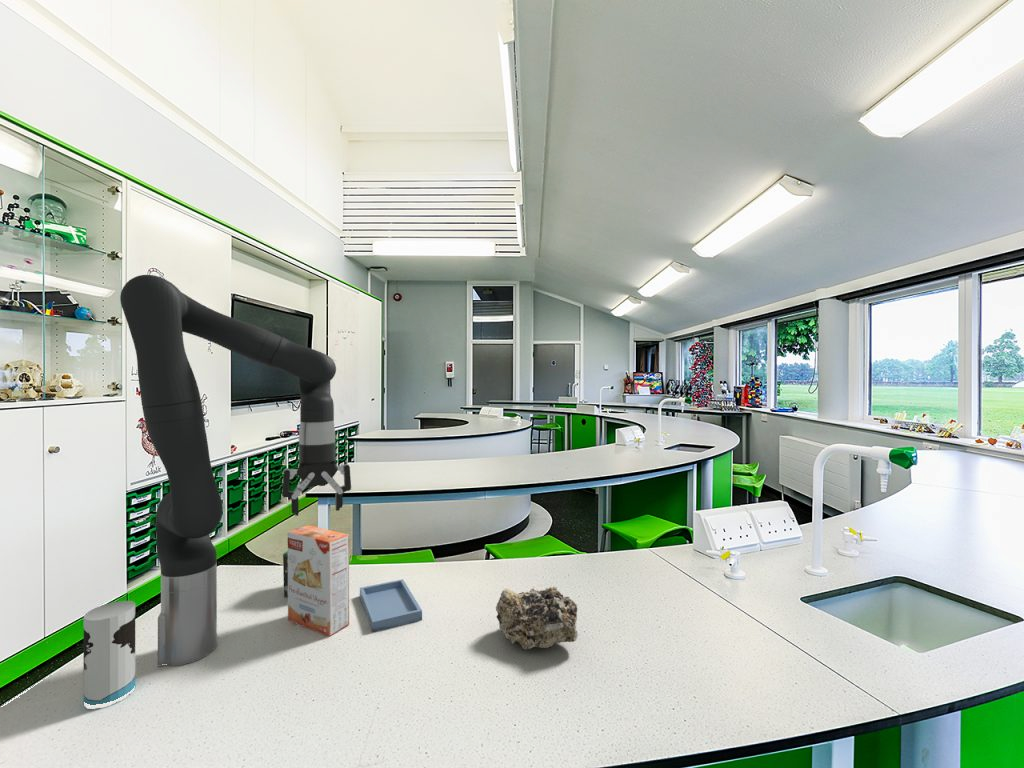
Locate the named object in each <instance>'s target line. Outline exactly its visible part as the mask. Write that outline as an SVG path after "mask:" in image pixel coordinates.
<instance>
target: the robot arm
mask: <svg viewBox="0 0 1024 768" xmlns="http://www.w3.org/2000/svg"><path fill="white" fill-rule="evenodd" d="M119 296H120V298H119V300H120V305H121V308H122V311H123V315H124V317H125V319H126V323H127V326H128V329H129V332H130V335H131V338H132V342H133V345H134V350H135V355H136V364H137V376H138V384H139V387H138V388H139V393H140V401H141V406H142V407H141V408H142V413H143V418H144V423H145V426H146V431H147V433H148V437H149V440H150V441H151V444H152V445H153V448H154V450H155V452H156V453H157V455H158V457H159V459H160V461H161V463H162V465H163V467H164V469H165V472H166V474H167V477H168V478H167V479H168V484H169V492H168V493H166V494H165V495H164V496H163V497H162V498H161V500H160V501H159V504H158V505H157V508H156V513H155V539H156V540H155V541H156V545H155V546H156V556H157V559H158V562H159V564H160V613H159V614H158V615H157V666H158V665H162V664H167V665H166V666H169V665H177V666H184V665H187V663H188V664H190V663H193V661H194V662H196V661H199V660H201V659H203V658H205V657H207V656H208V655H210V654H211V653H212V652H213V651H214V650H215V649H216V648H217V644H218V643H217V640H218V639H217V638H218V633H217V632H218V631H217V629H218V622H217V621H218V620H217V619H218V614H217V613H218V610H217V609H218V608H217V607H218V604H217V603H218V598H217V597H218V593H217V592H218V590H217V589H218V587H217V586H218V581H217V580H218V575H217V571H218V570H217V569H218V566H217V562H218V561H217V559H218V557H217V556H218V553H217V549H216V547H215V545H214V543H213V542H212V540H211V537H210V534H211V533H213V532H214V531H215V530H216V529H217V527H218V526H219V524H220V522H221V519H222V517H223V512H224V511H223V510H224V509H223V508H224V507H223V501H222V497H221V495H220V491H219V488H218V486H217V485H218V484H217V481H216V479H215V476H214V473H213V469H212V462H211V459H210V452H209V443H208V437H207V436H208V435H207V430H206V424H205V417H204V416H205V415H204V410H203V404H202V399H201V394H200V390H199V386H198V383H197V380H196V377H195V374H194V371H193V369H192V365H191V364H190V361H189V359H188V356H187V352H186V349H185V343H184V334H183V333H186V334H189V335H193V336H195V337H198V338H201V339H203V340H206V341H209V342H211V343H213V344H216V345H218V346H220V347H222V348H224V349H226V350H228V351H231V352H232V353H234V354H237V355H239V356H242V357H243V358H246V359H248V360H251V361H254V362H256V363H258V364H261V365H263V366H266V367H268V368H269V367H270V368H271V369H275V370H279V371H284V372H286V373H289V374H291V375H293V376H295V377H298V384H299V393H300V408H299V411H300V412H299V414H300V415H299V416H300V417H299V418H300V419H299V421H300V424H299V430H298V461H299V463H298V464H299V465H298V467H297V468H293V469H292V468H291V469H290V468H287V467H286V468H284V470H283V478H282V492H281V493H282V497H283V498H289V499H290V501H291V502H290V503H291V514H294V516H295V517H297V516H299V513H300V511H299V507H300V506H299V496H301V493H302V492H303V491H304V490H305V489H306V488H307V487H310V488H315V487H326V486H327V485H328V484H329V485H330V487H331V488H332V489H334V491H335V497H334V498H335V499H334V500H335V504H334V505H335V506H334V507H335V511H336V512H339V511H340V509H341V508H343V502H344V499H343V495H344V493H346V492H349V491H351V490H352V479H351V467H350V465H349V464H348V463H344V464H340V465H337V464H336V428H335V410H334V409H335V404H334V400H333V398H332V395H331V381H332V380H333V378H335V375H336V373H337V366H336V363H335V361H334V360H333V358H331V357H330V356H329V355H327V354H326V353H324V352H322V351H320V350H319V351H318V350H316V349H313V348H311V347H307V346H305V345H301V344H298V343H295V342H293V341H291V340H290V339H287V338H285V337H282V336H281V335H278V334H276V333H274V332H272V331H269V330H266V329H265V328H262V327H259V326H258V325H254V324H251V323H248V322H245V321H243V320H239V319H236V318H234V317H232V316H227V315H226V314H223V313H221V312H218V311H217V310H214V309H212V308H210V307H207V306H205V305H204V304H202V303H200V302H198V301H196V300H195V299H193V298H192V297H190V296H188V295H187V294H185V293H184V292H182V291H181V290H180V289H179V288H178V287H177V286H176V285H175V284H173V283H172V282H170V281H169V280H167V279H165V278H163V277H160V276H157V275H153V274H142V275H137V276H134V277H132V278H131V279H129V280H128V281H127V282H126V283H125V284H124V286H123V287H122V289H121V292H120V295H119ZM338 471H339V472H340V474H341V475H343V483H344V484H343V485H340V484H339V483H337V481H336V479H335V478H334V476H335V475H336V474H337V472H338ZM295 475H297V476H298V478H300V479H301V480H300V481H299V483H298V484H297V485H296V487H295V488H294V490H293V491H292V490H290V480H292V479H294V477H295ZM162 666H163V665H162Z"/></svg>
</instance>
